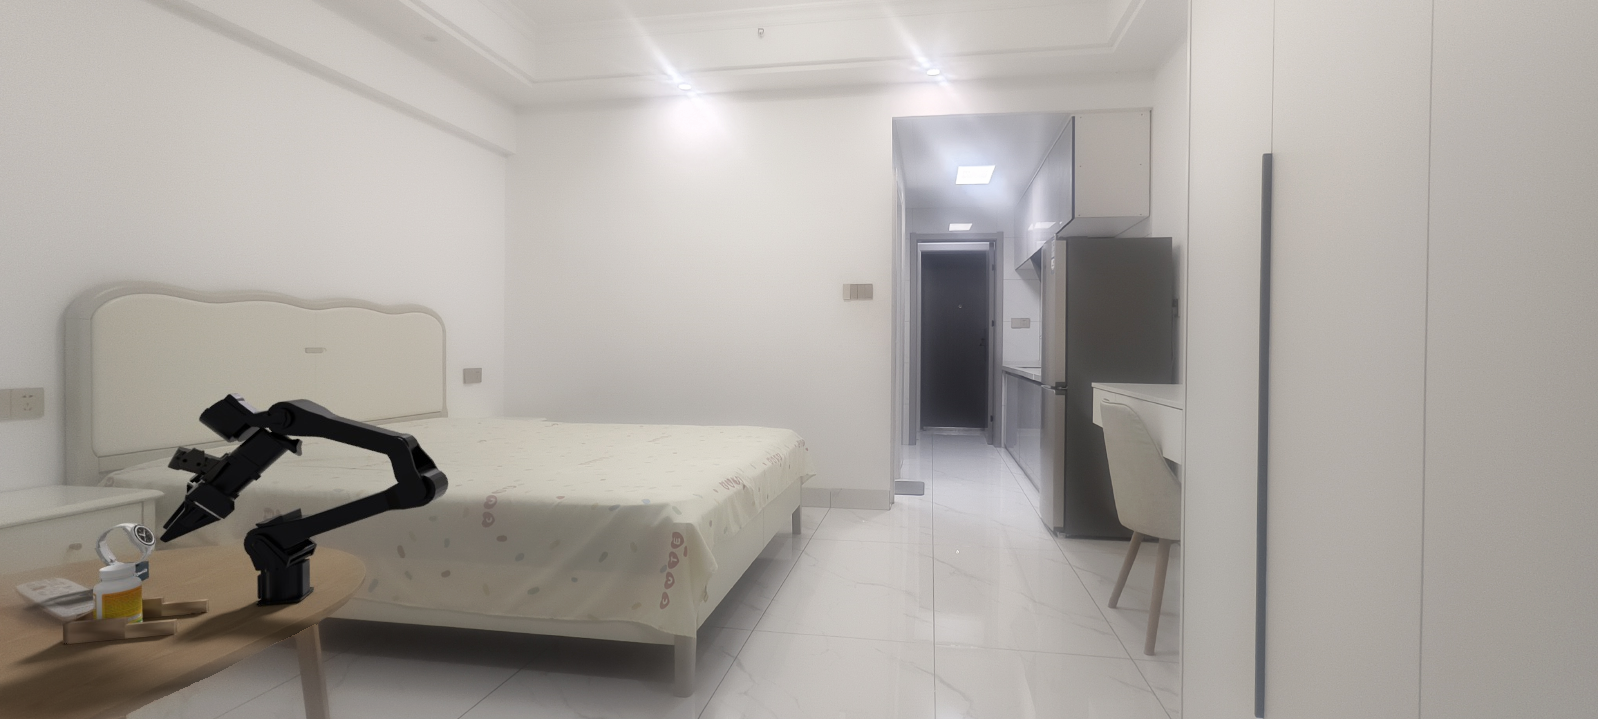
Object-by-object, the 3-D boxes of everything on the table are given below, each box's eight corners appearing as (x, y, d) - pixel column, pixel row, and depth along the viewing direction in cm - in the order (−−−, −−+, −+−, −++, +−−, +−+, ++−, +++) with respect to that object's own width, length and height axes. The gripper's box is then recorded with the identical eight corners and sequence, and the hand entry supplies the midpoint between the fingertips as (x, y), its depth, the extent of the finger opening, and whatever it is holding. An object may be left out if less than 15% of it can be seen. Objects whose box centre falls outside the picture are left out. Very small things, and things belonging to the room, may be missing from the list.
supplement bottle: (152, 622, 108) (151, 561, 108) (115, 636, 103) (114, 573, 103) (121, 620, 109) (120, 560, 109) (83, 635, 104) (82, 571, 103)
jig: (209, 610, 113) (209, 592, 113) (174, 633, 104) (173, 614, 104) (108, 619, 110) (108, 600, 109) (63, 644, 100) (62, 624, 100)
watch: (144, 585, 125) (143, 526, 125) (88, 590, 123) (87, 529, 122) (161, 575, 130) (161, 518, 130) (108, 580, 128) (108, 522, 128)
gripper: (206, 424, 120) (119, 495, 113) (206, 434, 106) (106, 516, 99) (263, 463, 125) (183, 533, 118) (270, 478, 111) (180, 559, 104)
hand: (163, 534), depth 110 cm, fingers open, 9 cm apart
